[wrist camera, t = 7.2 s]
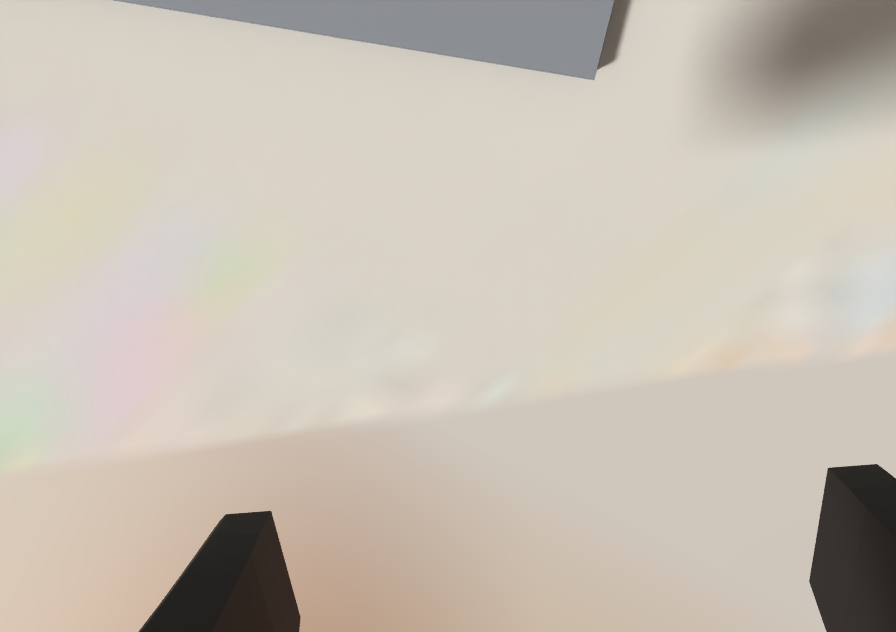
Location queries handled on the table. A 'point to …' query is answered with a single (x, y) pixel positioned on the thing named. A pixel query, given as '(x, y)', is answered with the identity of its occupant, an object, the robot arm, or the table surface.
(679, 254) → the table surface
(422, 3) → the T board
